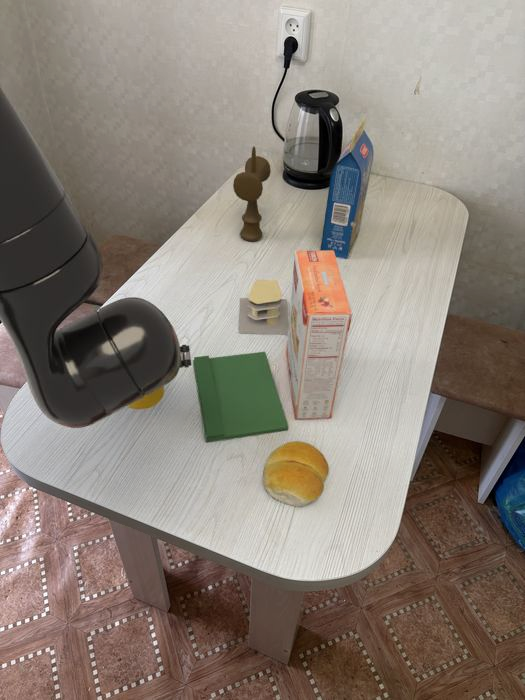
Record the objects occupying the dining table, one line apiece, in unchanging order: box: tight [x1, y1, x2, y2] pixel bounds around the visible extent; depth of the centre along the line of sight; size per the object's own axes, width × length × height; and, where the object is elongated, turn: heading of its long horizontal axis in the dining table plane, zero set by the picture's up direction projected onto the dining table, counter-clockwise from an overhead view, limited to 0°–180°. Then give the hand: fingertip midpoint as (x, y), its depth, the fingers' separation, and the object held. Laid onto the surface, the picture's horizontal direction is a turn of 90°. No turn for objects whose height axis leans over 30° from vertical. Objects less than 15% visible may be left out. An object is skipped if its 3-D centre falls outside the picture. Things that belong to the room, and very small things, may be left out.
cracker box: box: [285, 250, 353, 420], centre depth 73 cm, size 14×6×21 cm, turn 3°
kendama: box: [232, 146, 272, 242], centre depth 105 cm, size 6×10×20 cm, turn 167°
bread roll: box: [262, 440, 330, 508], centre depth 67 cm, size 8×9×4 cm
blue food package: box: [319, 115, 375, 259], centre depth 103 cm, size 6×12×25 cm, turn 160°
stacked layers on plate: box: [238, 279, 289, 335], centre depth 90 cm, size 10×9×6 cm
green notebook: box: [192, 351, 289, 443], centre depth 78 cm, size 12×16×1 cm
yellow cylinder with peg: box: [126, 386, 165, 411], centre depth 67 cm, size 6×6×10 cm
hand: (137, 362), depth 69 cm, fingers closed on yellow cylinder with peg, 6 cm apart
